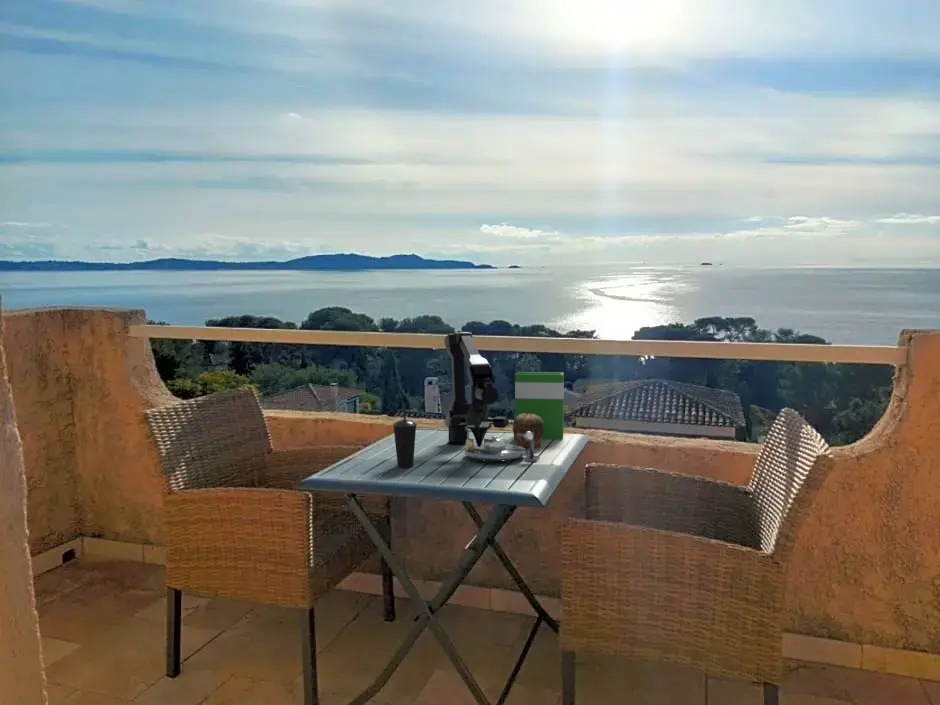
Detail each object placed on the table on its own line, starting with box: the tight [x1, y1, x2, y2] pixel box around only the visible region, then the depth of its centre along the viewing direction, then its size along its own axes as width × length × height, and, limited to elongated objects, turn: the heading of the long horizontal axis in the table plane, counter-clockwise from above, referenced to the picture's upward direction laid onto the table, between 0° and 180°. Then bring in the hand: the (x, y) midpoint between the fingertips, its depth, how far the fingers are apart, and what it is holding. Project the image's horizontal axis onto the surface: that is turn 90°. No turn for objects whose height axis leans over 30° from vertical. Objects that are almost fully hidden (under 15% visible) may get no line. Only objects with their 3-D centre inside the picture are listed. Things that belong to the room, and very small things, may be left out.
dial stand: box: [517, 431, 540, 463], centre depth 240 cm, size 7×5×10 cm
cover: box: [483, 435, 506, 452], centre depth 243 cm, size 7×7×4 cm
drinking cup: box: [392, 403, 418, 469], centre depth 232 cm, size 8×8×20 cm
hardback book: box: [514, 371, 565, 440], centre depth 277 cm, size 18×7×24 cm, turn 81°
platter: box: [463, 437, 526, 461], centre depth 243 cm, size 20×20×5 cm
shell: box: [512, 413, 544, 450], centre depth 259 cm, size 11×11×12 cm
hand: (479, 446), depth 245 cm, fingers closed
